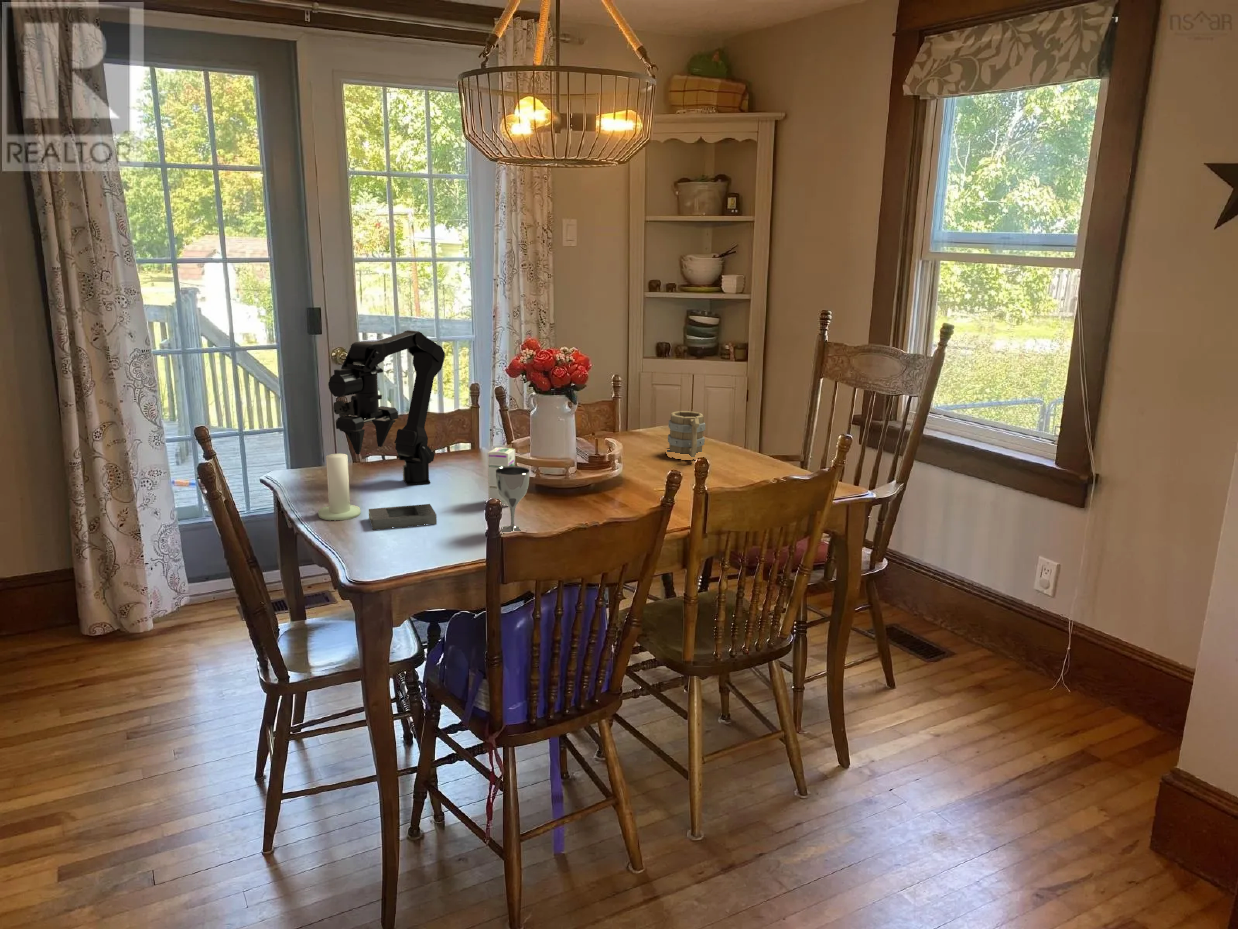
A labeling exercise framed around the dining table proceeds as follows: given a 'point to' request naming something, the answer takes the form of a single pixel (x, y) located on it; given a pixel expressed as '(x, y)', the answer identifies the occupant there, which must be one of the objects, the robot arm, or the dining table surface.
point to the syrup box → (495, 461)
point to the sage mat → (339, 514)
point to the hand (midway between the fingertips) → (369, 450)
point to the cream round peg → (338, 483)
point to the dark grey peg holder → (402, 516)
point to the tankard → (686, 432)
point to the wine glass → (512, 489)
